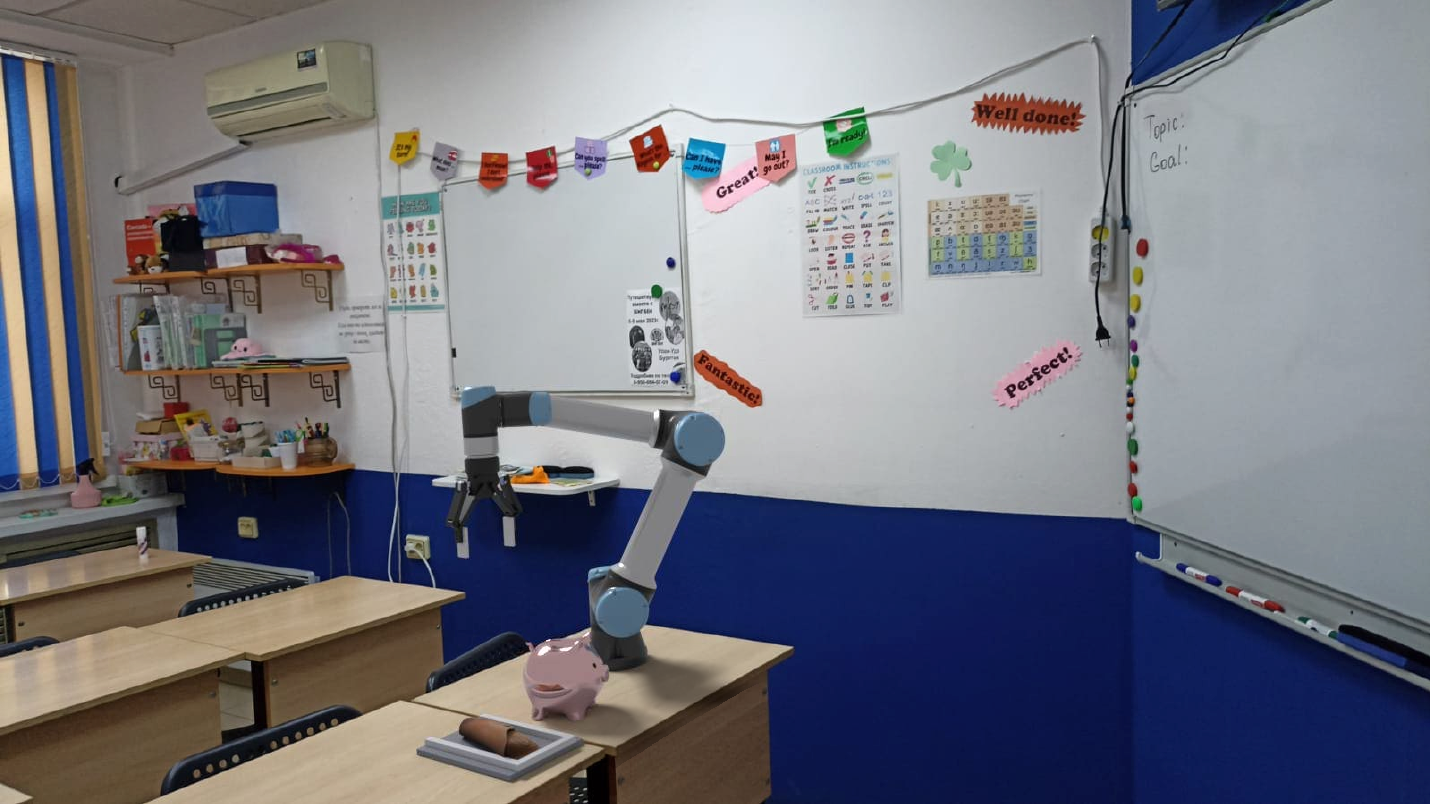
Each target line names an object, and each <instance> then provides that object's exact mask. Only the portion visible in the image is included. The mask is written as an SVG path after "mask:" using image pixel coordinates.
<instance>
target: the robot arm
mask: <svg viewBox="0 0 1430 804" xmlns="http://www.w3.org/2000/svg"><path fill="white" fill-rule="evenodd" d="M460 393H461V395H460V396H461V397H460V399H461V400H460V402H461V403H460V404H461V406H460V407H461V408H460V409H461V411H460V412H461V422H462V423H461V424H462V426H461V427H462V437H463V438H462V439H463V440H462V441H463V455H465V456H466V457H465V459H464V473H465V475H466V476H467V479H466V481H464V480H462V481H459V480H458V481H455V483H454V485H455V489H454V490H455V491H454V494H453V498H452V501H451V504H450V507H449V510H448V513H447V517H446V520H445V523H444V524H445V526H446V527H451V528H453V531H454V533H453V535H454V542H455V543H456V548H457V558H462V559H469V558H470V555H469V554H470V553H469V552H470V550H469V535H468V534H469V531H468V527H466V526H465V525H466V523H467V521H468V520H469V517H470V515H471V514H472V512H473V511H474V509H475V507H476V505H477V503H478V502H479V501H480V500H483V499H486V498H491V499H492V500H493V501H494V503H496V504H497V506H498V507H499V509H500V510H501V511H502V512H503V514H504V515H505V516H503V517H502V526H503V541H504V542H503V545H504V546H505V547H515V546H516V536H515V535H516V534H515V531H516V529H517V523H516V521H517V520H516V519H517V518H518V517H519V516H520V513H523V507H522V505H521V503H520V501H519V499H518V496H517V494H516V491H515V489H514V488H513V486H512V483H511V477H510V474H508V473H500V471H501V466H500V465H501V462H500V456H498V454H499V453H500V446H499V431H498V429H500V428H501V429H504V428H505V429H506V428H521V427H544V428H552V429H559V430H562V431H563V430H564V431H570V432H577V433H583V434H589V435H595V436H596V435H597V436H600V437H601V436H602V437H608V438H615V439H620V440H624V441H625V440H626V441H632V442H638V443H639V442H640V443H645V444H647V445H648V446H649V448H651V449H657V450H661V451H662V452H661V454H660V456H659V459H660V462H661V464H662V467H661V470H660V473H659V475H658V476H657V478H656V481H655V483H654V485H653V488H652V490H651V492H650V495H649V497H648V498H647V501H646V503H645V506H644V507H643V510H642V512H641V514H640V516H639V518H638V521H637V524H636V525H635V528H634V530H633V531H632V532H633V533H632V534H631V536H630V539H629V541H628V542H627V545H626V548H625V550H624V553H623V554H622V557H621V558H620V561H619V562H618V563H615V564H613V565H610V566H609V565H608V566H600V567H595V568H591V569H590V570H589V571H588V576H587V577H588V579H587V583H588V596H589V597H588V598H589V618H590V632H591V642H592V644H593V646H594V647H595V649H596V650H597V652H598V653H599V655H600V657H601V658H602V659H603V663H604V664H606V665H607V666H608V668H609V671H616V670H617V671H619V670H625V669H631V668H634V667H639V666H641V665H643V664H645V663H646V662H647V661H648V659H649V655H648V654H649V653H648V648H647V645H646V644H645V641H644V638H643V634H642V632H641V630H642V629H643V628H644V627H645V625H646V623H647V621H648V618H649V614H650V612H649V611H650V604H651V602H652V600H653V597H654V595H655V593H656V590H657V582H656V580H655V576H656V573H657V571H658V569H659V567H660V564H661V562H662V561H663V558H664V556H665V554H666V551H667V549H668V547H669V545H670V542H671V541H672V538H673V535H674V533H675V531H676V530H677V529H676V528H677V527H678V525H679V522H680V521H681V518H682V516H683V514H684V511H685V509H686V507H687V505H688V503H689V500H690V498H691V496H692V493H693V491H694V489H695V487H696V486H697V485H696V484H697V483H698V482H700V481H702V480H704V479H706V478H707V476H708V474H709V472H710V470H711V467H712V465H713V463H714V462H716V461H717V460H718V459H719V457H720V456H722V454H723V451H724V449H725V446H726V435H725V433H726V432H725V431H724V428H723V426H722V425H721V422H719V420H717V419H716V418H715V416H712V415H710V414H709V413H705V412H703V411H697V410H669V409H663V408H662V409H661V408H656V409H654V410H653V411H650V410H649V411H647V410H641V409H636V408H629V407H623V406H618V405H610V404H604V403H599V402H592V401H587V400H582V399H581V400H580V399H574V398H567V397H563V396H556V395H552V394H551V395H550V393H549V392H546V391H530V390H529V391H528V390H519V391H516V392H515V393H514V392H513V393H497V391H496V387H495V386H494V385H477V386H475V385H474V386H466V387H463V388H462V390H461V392H460Z"/></svg>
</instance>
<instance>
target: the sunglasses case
mask: <svg viewBox="0 0 1430 804" xmlns="http://www.w3.org/2000/svg"><path fill="white" fill-rule="evenodd" d="M514 729H515V727H512V726H511V725H509V724H506V723H502V722H498V721H495V720H491V719H485V718H479V717H466V718H464V719H463V720H462V721H461V723H460V725H459V726H458V731H459V734H460V735H461V736H464V737H466V738H468V739H471V740H474V741H476V742H477V743H479V744H480V745H482V746H484V747H486V748H488V749H489V750H491V751H493V752H494V753H496V754H498V755H500V756H502V757H508V758H511V759H515V760H518V759H521V758H523V757H525V756H527V755H529V754H531V753H533V752H535V751H537V750H539V749H541V748H540V746H539V745H538V744H536V743H535V742H534V741H532V740H531V739H530V738H528V737H526V736H525V735H523V734H522V733H520V732H518V731H516V730H514Z"/></svg>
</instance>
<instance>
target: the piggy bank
mask: <svg viewBox="0 0 1430 804" xmlns="http://www.w3.org/2000/svg"><path fill="white" fill-rule="evenodd" d="M525 644H526V646H528V648H529V652H530V654H529V656H528V658H527V659H526V662H525V665H524V667H523V668H524V669H523V674H522V675H523V677H522V681H523V686H524V687H523V688H524V690H525V693H526V695H527V696H528V699H529V701H530V703H531V705H532V707H531V708H532V709H531V719H532V720H534V721H541V720H544V719H546V718H547V716H548V713H549V712H550V713H559V714H560V713H561V714H564V715H566V716H567V718H568V719H569V721H571V722H579V721H583V720H584V718H585V714H586V710H587V708H592V707H594V706H596V705H597V697H598V696H599V694H600V693H601V692H602V690H603V688H604V686H605V685H604V684H605V683H608V682H609V679H610V670H609V668H608V666H607V665H606V664H604V663H603V659H602V658H601V657H600V655H599V653H598V652H597V650H596V649H595V647H594V646H593V644H592V642H591V631H588V632H586V633H585V634H583V635H581V636H577V637H573V638H554V639H548V640H546V641H544V642H541V643H539V644H538V645H537V646H536V647H534V646H533V643H532V642H529V643H528V642H527V641H526V642H525Z"/></svg>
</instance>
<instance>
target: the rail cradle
mask: <svg viewBox="0 0 1430 804" xmlns="http://www.w3.org/2000/svg"><path fill="white" fill-rule="evenodd" d="M478 718H485V719H491V720H495V721H498V722H502V723H506V724H509V725H511V726H512V727H515V729H514V730H516V731H518V732H520V733H522V734H523V735H525V736H526V737H528V738H530V739H531V740H532V741H534V742H535V743H536V744H538V745H539V746H540V748H541V749H539V750H537V751H535V752H533V753H531V754H529V755H527V756H525V757H523V758H521V759H518V760H515V759H511V758H508V757H502V756H500V755H498V754H496V753H494V752H493V751H491V750H489V749H488V748H486V747H484V746H482V745H480V744H479V743H477V742H476V741H474V740H471V739H468V738H466V737H464V736H461V735H460V734H459V730H456V731H454V732H451V733H450V734H446V735H445V736H443V737H440V738H437V737H435V736H428V737H426V738H424V745H422V746H420V747H418V748H416V755H418V756H422V757H425V758H428V759H432V760H435V761H439V762H442V763H446V764H449V765H453V766H456V767H459V768H462V769H466V770H470V771H473V772H476V773H479V774H483V775H487V776H490V777H493V778H497V779H499V780H503V781H507V782H513V780H516V779H518V778H519V777H522V776H523V775H525V774H527V773H529V772H531V771H533V770H535V769H537V768H539V767H541V766H543V765H545V764H546V763H549V762H551V761H552V760H554V759H556V758H559V757H560V756H562V755H564V754H566V753H568V752H569V751H571V750H573V749H576V748H577V747H579V746H581V745H583V744H584V738H582V737H579V736H576V735H574V734H570V733H567V732H566V733H565V732H563V731H558V730H554V729H549V728H545V727H541V726H537V725H534V724H529V723H524V722H521V721H518V720H517V721H516V720H513V719H508V718H505V717H499V716H496V715H492V714H489V713H482V714H480V715H478Z"/></svg>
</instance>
